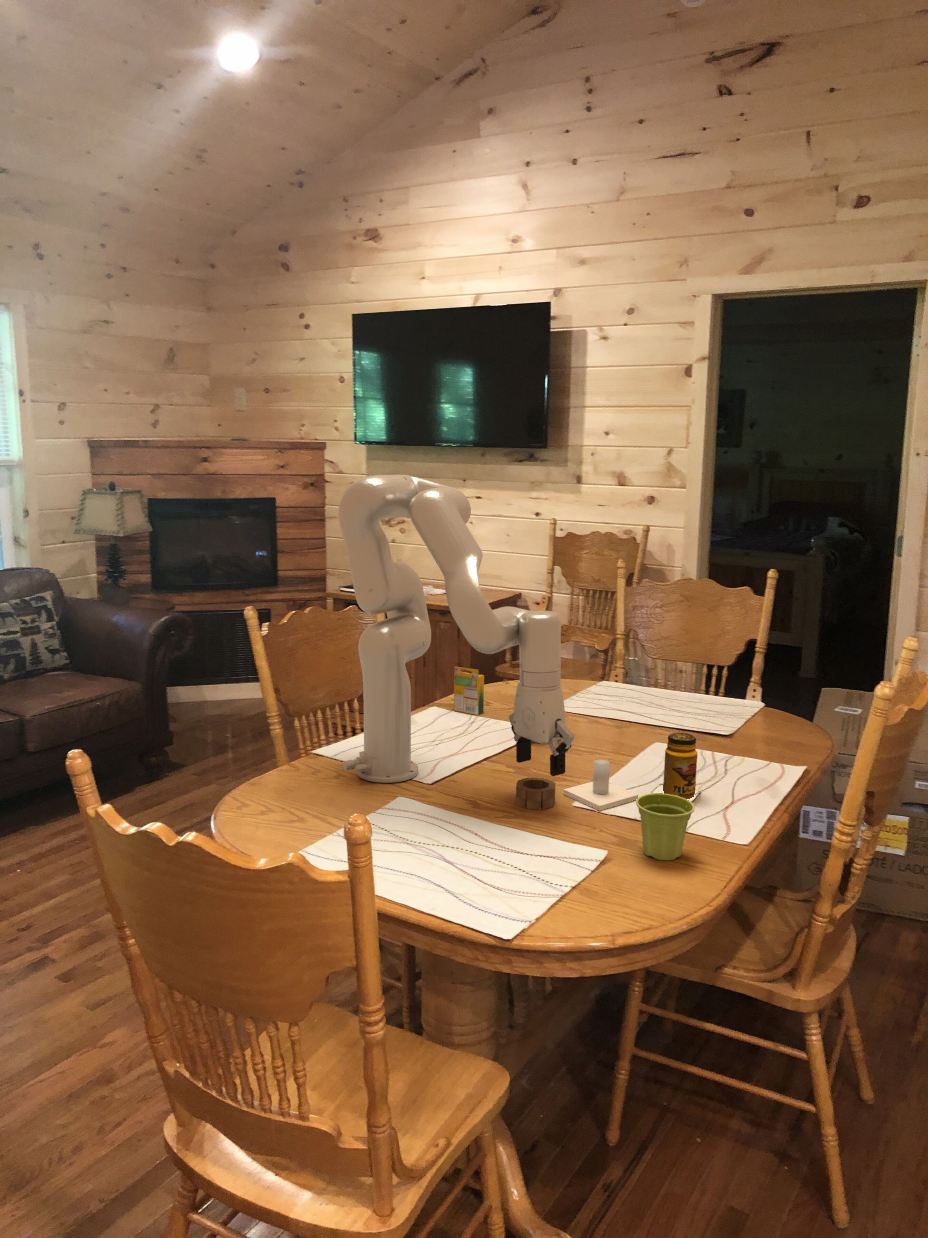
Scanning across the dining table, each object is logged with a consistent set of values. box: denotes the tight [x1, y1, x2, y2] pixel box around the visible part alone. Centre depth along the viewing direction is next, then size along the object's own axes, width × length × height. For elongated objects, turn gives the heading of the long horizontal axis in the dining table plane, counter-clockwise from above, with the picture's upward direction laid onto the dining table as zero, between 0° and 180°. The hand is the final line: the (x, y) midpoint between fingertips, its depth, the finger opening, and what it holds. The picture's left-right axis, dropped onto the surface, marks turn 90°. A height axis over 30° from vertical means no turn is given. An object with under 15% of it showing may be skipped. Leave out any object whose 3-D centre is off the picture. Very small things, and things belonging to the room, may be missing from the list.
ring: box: [515, 777, 556, 811], centre depth 174 cm, size 7×7×4 cm
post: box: [562, 759, 639, 812], centre depth 176 cm, size 10×10×7 cm
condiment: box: [658, 732, 698, 799], centre depth 178 cm, size 7×8×12 cm
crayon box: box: [453, 666, 485, 716], centre depth 232 cm, size 7×3×12 cm, turn 58°
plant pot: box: [635, 793, 696, 861], centre depth 152 cm, size 9×9×9 cm
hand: (540, 767), depth 172 cm, fingers open, 9 cm apart
